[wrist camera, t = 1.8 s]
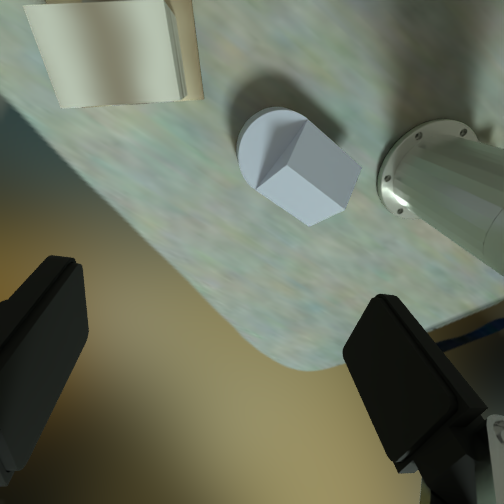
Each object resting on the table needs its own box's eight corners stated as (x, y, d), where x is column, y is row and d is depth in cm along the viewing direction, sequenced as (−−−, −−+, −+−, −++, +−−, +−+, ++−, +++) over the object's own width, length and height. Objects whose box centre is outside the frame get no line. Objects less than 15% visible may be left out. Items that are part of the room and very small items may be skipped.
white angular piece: (350, 159, 35) (268, 87, 30) (376, 176, 29) (280, 90, 24) (302, 215, 38) (221, 159, 33) (317, 239, 33) (222, 176, 27)
